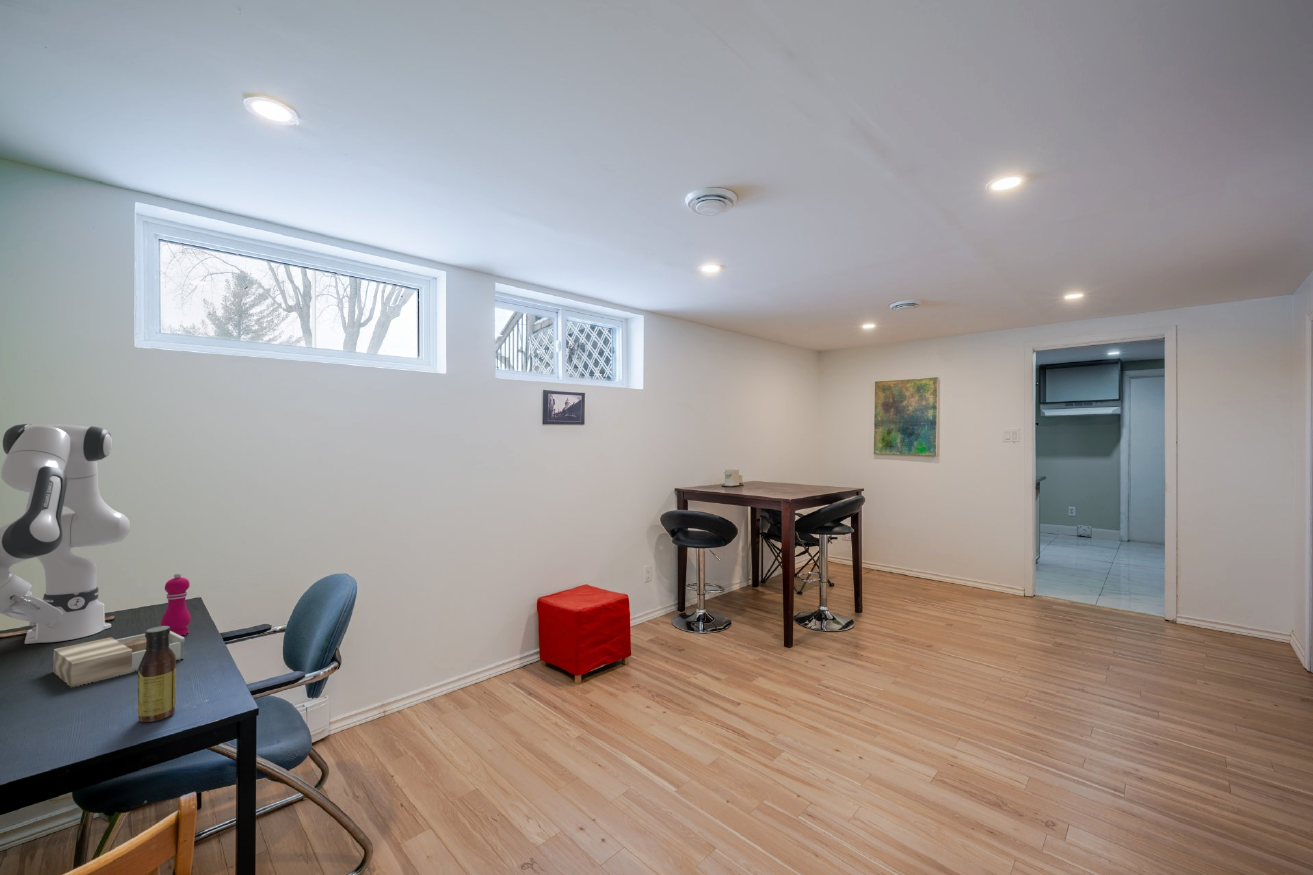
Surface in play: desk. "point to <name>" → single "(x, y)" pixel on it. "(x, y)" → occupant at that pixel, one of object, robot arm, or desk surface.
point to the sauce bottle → (157, 677)
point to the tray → (174, 644)
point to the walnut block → (136, 644)
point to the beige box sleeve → (92, 661)
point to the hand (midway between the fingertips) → (57, 626)
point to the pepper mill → (177, 605)
